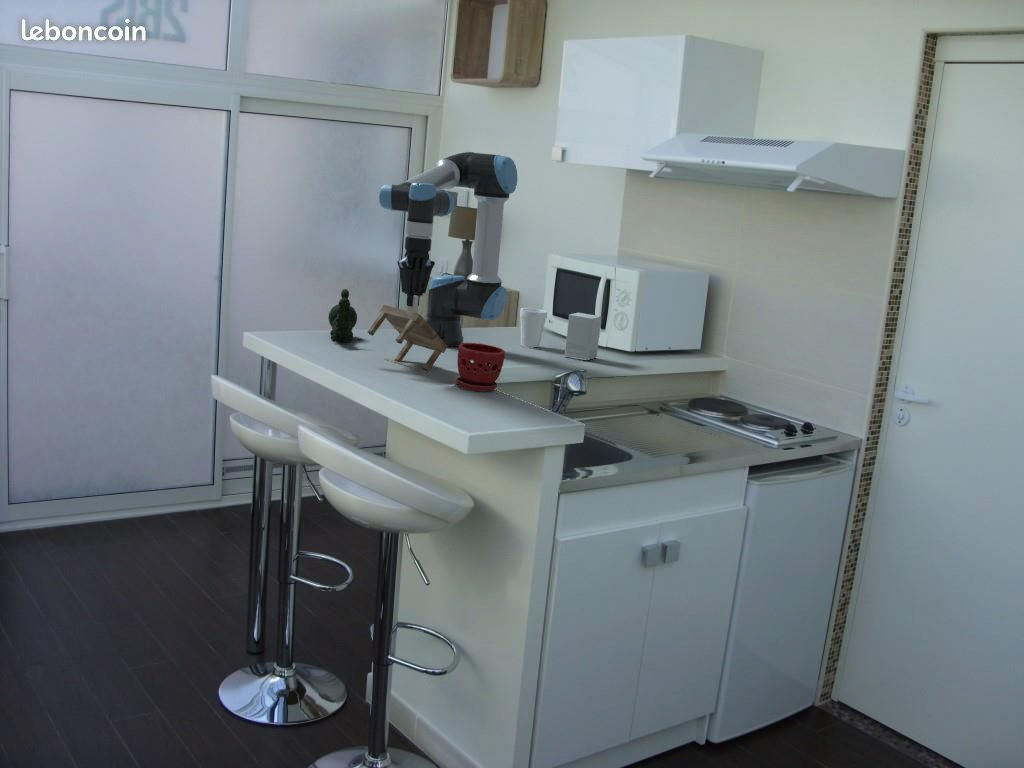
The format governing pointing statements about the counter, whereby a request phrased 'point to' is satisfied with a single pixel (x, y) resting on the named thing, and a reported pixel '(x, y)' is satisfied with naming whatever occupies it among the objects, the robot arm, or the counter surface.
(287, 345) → the counter surface
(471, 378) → the plant pot
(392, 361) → the oak batten
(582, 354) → the supplement box
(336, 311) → the toy figurine
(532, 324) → the foam cup
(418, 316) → the footstool
